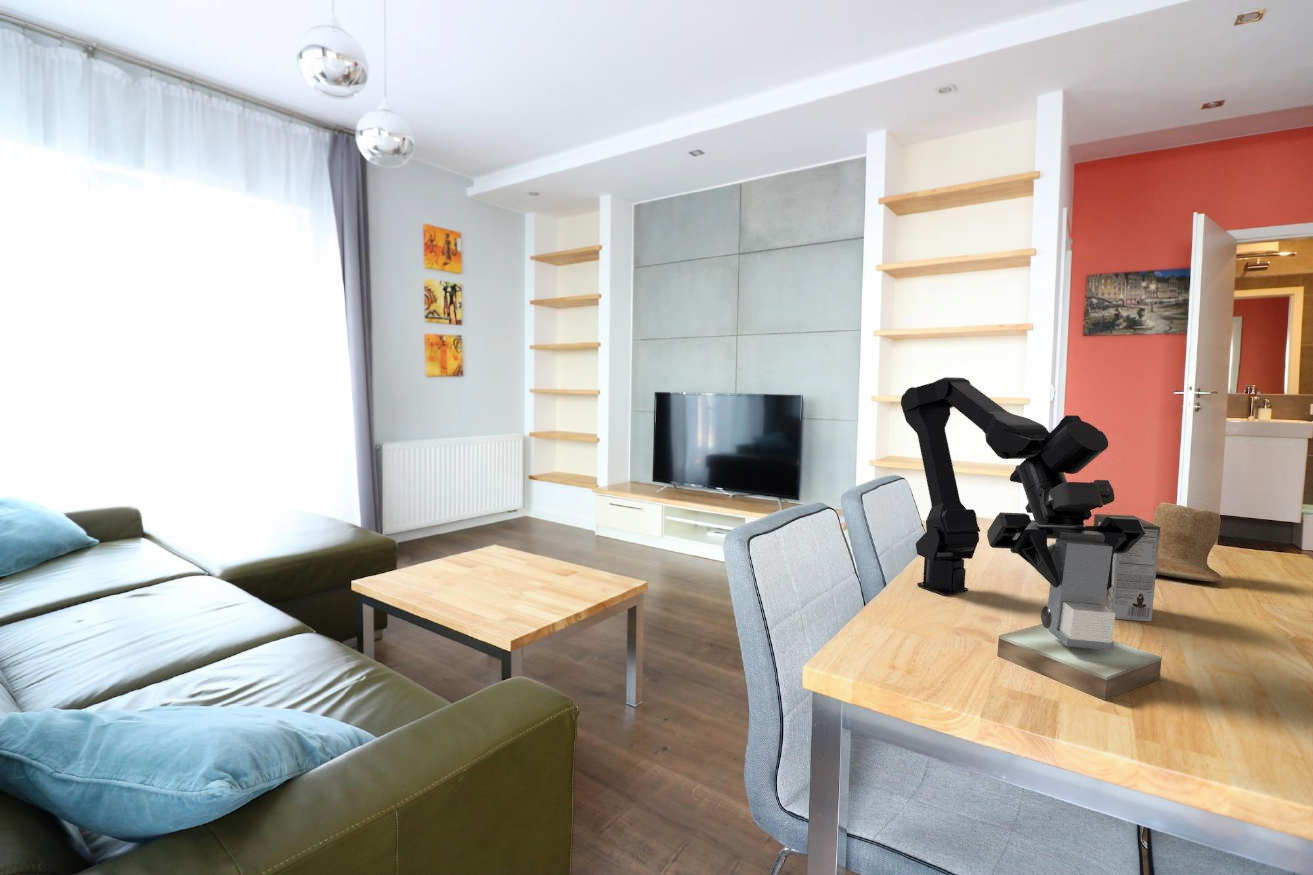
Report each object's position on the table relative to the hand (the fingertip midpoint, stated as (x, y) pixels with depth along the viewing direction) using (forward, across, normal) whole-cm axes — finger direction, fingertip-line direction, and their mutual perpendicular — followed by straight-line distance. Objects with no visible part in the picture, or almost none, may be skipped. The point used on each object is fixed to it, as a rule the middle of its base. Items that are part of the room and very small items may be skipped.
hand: (1082, 587), depth 85 cm
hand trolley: (+4, 0, +6) cm, 7 cm away
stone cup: (-27, +44, +44) cm, 68 cm away
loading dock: (+7, 0, +9) cm, 12 cm away
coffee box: (-10, +20, +26) cm, 34 cm away
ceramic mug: (-24, +21, +41) cm, 52 cm away
